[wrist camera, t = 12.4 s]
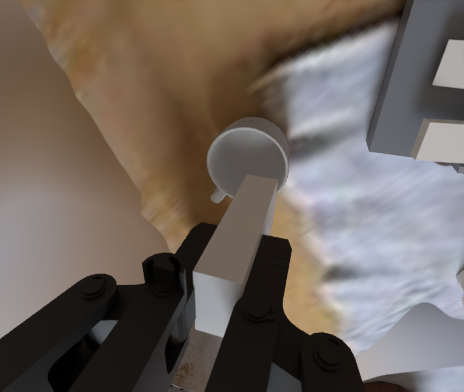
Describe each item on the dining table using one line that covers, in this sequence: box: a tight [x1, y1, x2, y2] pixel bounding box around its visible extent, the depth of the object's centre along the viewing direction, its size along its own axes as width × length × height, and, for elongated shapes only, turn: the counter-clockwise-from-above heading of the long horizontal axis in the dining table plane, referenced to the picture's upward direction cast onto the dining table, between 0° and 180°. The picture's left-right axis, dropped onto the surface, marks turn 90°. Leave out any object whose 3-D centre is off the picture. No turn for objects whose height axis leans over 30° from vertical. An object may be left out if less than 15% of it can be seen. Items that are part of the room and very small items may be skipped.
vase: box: [168, 321, 223, 392], centre depth 46 cm, size 13×14×28 cm
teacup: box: [207, 117, 289, 204], centre depth 42 cm, size 14×11×8 cm
